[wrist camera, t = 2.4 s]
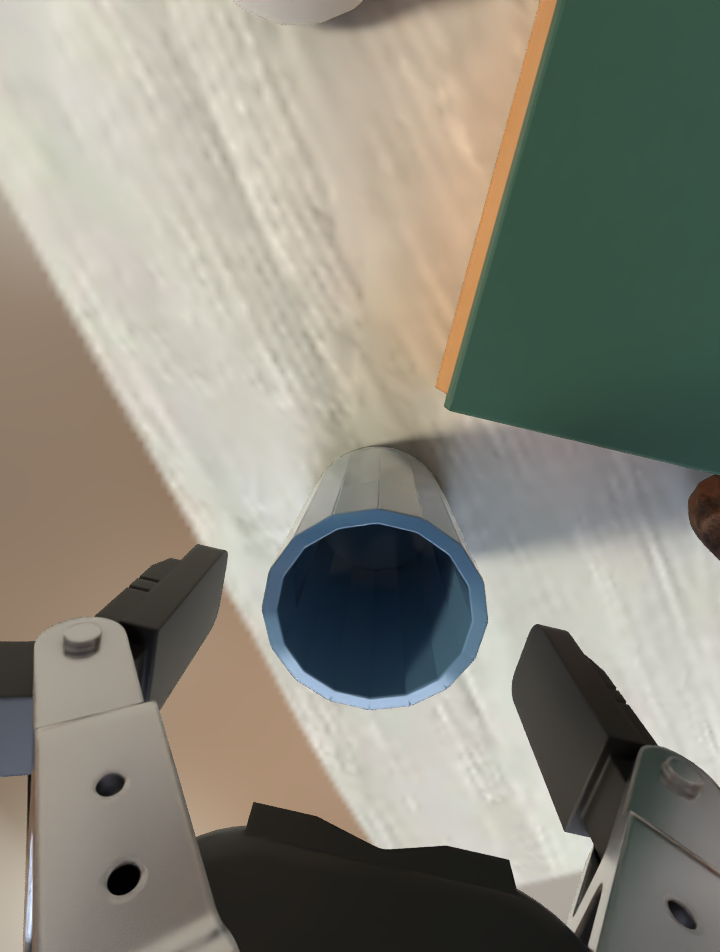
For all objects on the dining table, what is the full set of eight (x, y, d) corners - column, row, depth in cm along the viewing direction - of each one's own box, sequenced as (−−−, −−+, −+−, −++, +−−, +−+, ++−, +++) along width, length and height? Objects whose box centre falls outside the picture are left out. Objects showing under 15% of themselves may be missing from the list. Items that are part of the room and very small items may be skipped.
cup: (326, 431, 18) (285, 486, 10) (459, 463, 18) (517, 541, 11) (300, 555, 20) (246, 682, 12) (424, 584, 20) (451, 729, 12)
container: (539, -33, 14) (648, -306, 8) (861, 48, 14) (1190, -165, 8) (425, 393, 18) (446, 410, 12) (685, 455, 18) (832, 502, 12)
